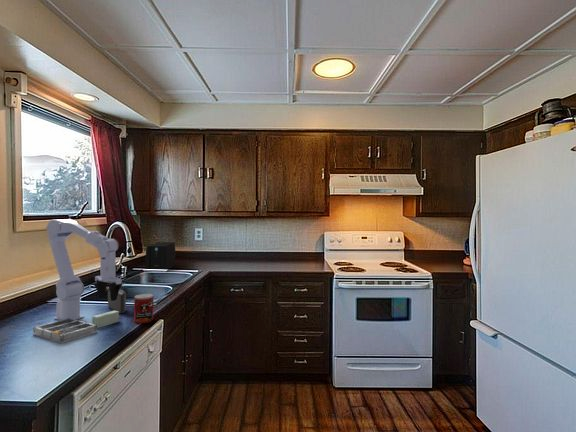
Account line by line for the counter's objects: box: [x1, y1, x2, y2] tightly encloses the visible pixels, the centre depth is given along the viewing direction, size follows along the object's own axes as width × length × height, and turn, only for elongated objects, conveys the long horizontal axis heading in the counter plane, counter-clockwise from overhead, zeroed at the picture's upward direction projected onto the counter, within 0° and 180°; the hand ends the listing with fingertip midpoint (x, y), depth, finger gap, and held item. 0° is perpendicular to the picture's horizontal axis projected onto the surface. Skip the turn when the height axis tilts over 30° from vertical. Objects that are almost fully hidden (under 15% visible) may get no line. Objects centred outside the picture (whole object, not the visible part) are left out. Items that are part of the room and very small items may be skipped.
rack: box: [32, 318, 98, 344], centre depth 139 cm, size 18×14×3 cm
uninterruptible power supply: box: [144, 241, 177, 270], centre depth 291 cm, size 16×34×20 cm, turn 6°
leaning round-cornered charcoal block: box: [107, 289, 127, 314], centre depth 172 cm, size 16×5×9 cm, turn 47°
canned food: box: [133, 293, 154, 324], centre depth 156 cm, size 8×8×11 cm
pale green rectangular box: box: [91, 310, 120, 329], centre depth 151 cm, size 3×10×4 cm, turn 153°
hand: (107, 299), depth 153 cm, fingers open, 7 cm apart
